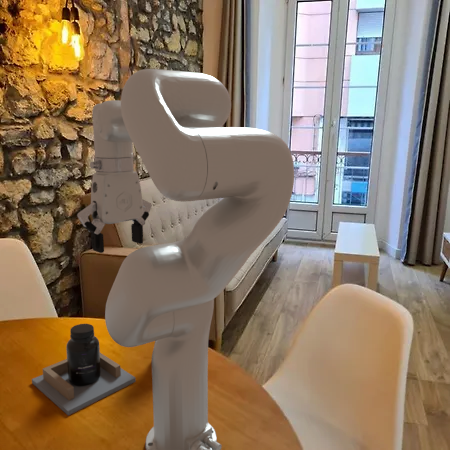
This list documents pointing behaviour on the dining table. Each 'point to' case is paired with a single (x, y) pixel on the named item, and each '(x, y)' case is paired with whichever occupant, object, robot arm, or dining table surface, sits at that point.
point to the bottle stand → (81, 395)
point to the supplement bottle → (83, 355)
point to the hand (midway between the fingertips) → (118, 246)
